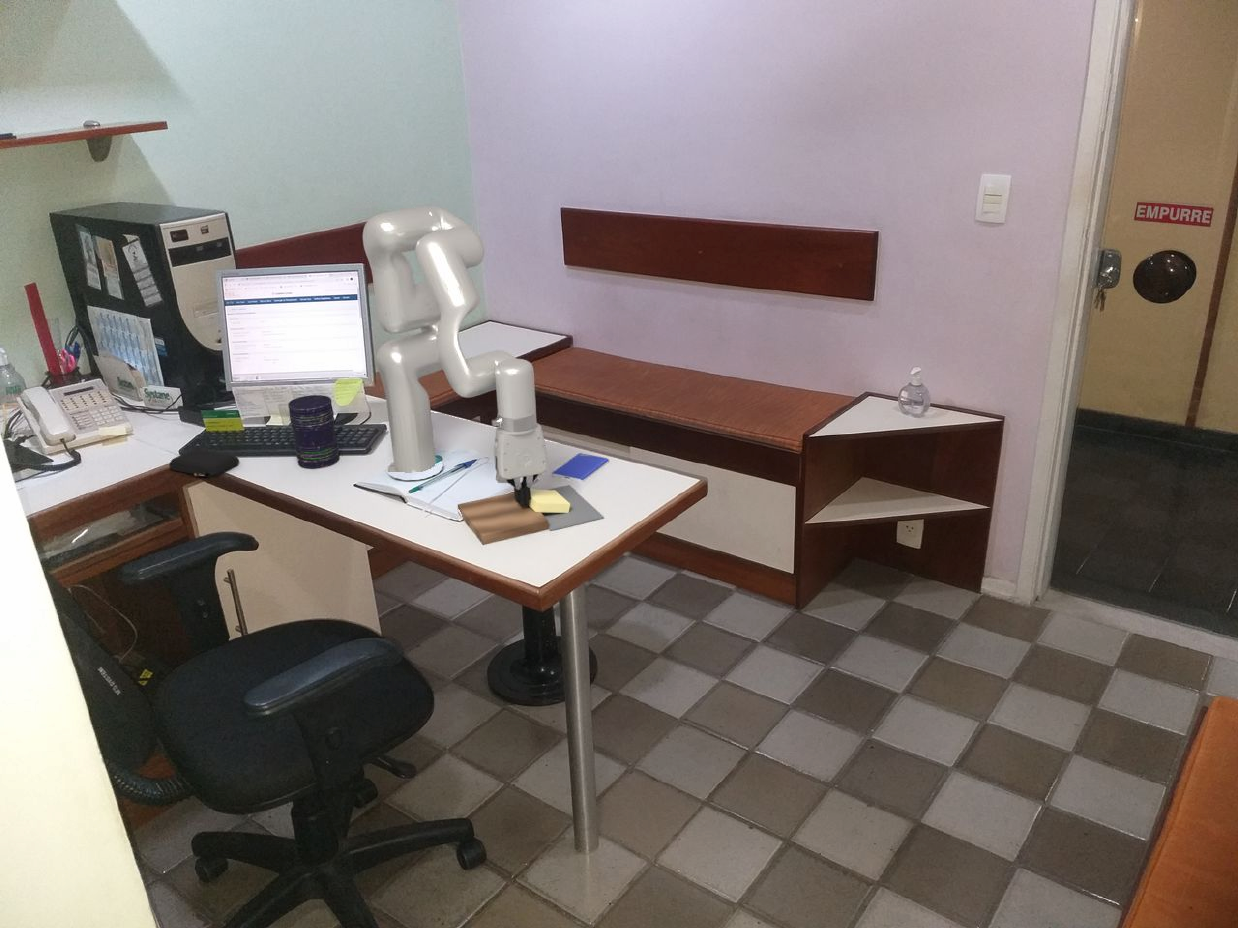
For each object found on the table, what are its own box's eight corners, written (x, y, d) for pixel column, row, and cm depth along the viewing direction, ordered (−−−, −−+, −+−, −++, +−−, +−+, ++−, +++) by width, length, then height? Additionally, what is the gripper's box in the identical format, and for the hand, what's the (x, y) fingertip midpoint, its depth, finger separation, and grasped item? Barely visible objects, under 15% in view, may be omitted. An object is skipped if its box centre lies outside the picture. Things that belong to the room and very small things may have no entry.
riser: (458, 512, 204) (457, 504, 203) (520, 499, 210) (519, 490, 209) (483, 544, 191) (482, 535, 190) (548, 529, 197) (548, 520, 196)
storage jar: (335, 468, 227) (326, 408, 221) (293, 470, 227) (282, 410, 221) (343, 451, 236) (335, 394, 230) (303, 453, 236) (293, 395, 230)
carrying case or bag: (162, 473, 227) (210, 483, 222) (160, 461, 226) (207, 471, 220) (197, 456, 236) (244, 465, 231) (195, 445, 235) (241, 454, 229)
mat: (518, 497, 211) (518, 496, 211) (569, 486, 215) (569, 484, 215) (550, 531, 196) (550, 529, 196) (604, 518, 201) (604, 517, 200)
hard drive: (578, 452, 230) (551, 472, 220) (608, 458, 227) (582, 478, 217) (579, 458, 231) (551, 478, 221) (609, 464, 227) (582, 484, 217)
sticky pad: (521, 498, 205) (523, 489, 204) (553, 498, 209) (555, 490, 208) (535, 512, 199) (537, 503, 198) (568, 512, 203) (570, 503, 202)
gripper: (488, 433, 188) (494, 518, 195) (559, 420, 194) (563, 503, 201) (476, 421, 194) (483, 504, 201) (545, 409, 200) (549, 489, 207)
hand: (523, 503), depth 201 cm, fingers closed
